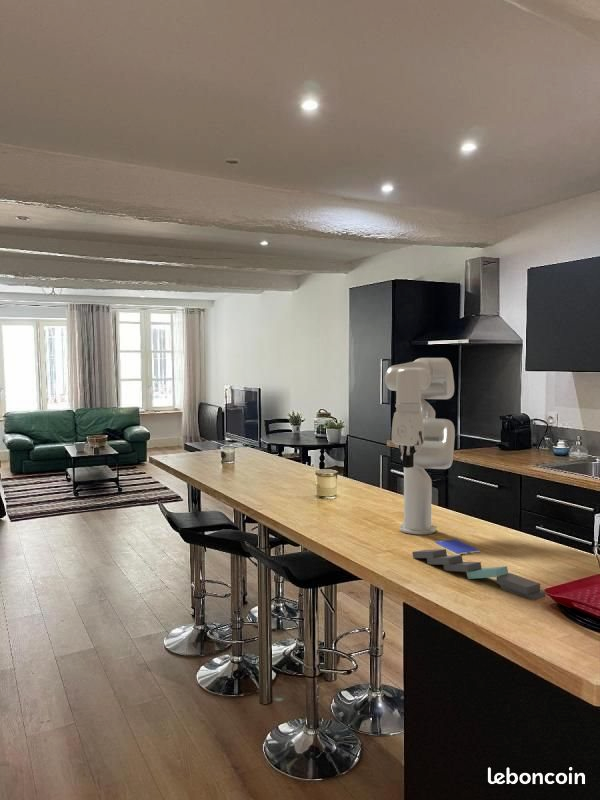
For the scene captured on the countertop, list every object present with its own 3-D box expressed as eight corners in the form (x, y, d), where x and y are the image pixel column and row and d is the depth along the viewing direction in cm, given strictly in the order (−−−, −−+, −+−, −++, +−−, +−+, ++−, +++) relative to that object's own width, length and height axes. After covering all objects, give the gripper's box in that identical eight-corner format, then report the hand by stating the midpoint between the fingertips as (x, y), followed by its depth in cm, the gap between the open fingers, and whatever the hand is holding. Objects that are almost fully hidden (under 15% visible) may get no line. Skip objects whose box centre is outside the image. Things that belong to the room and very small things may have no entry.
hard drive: (435, 541, 196) (457, 552, 185) (456, 538, 199) (480, 549, 187) (435, 546, 196) (457, 557, 185) (456, 543, 199) (480, 554, 188)
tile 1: (412, 552, 182) (432, 551, 174) (425, 549, 184) (445, 549, 176) (413, 558, 182) (433, 557, 174) (426, 555, 184) (446, 555, 176)
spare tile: (466, 572, 164) (495, 569, 157) (478, 568, 167) (506, 566, 160) (468, 578, 164) (497, 577, 157) (479, 575, 167) (508, 573, 160)
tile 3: (443, 564, 171) (466, 564, 163) (456, 561, 173) (480, 562, 165) (444, 570, 171) (467, 571, 163) (457, 567, 173) (481, 568, 165)
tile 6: (500, 584, 157) (533, 595, 149) (512, 580, 160) (545, 591, 152) (500, 591, 157) (533, 602, 149) (512, 587, 160) (545, 598, 152)
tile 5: (496, 576, 158) (526, 587, 149) (509, 572, 160) (540, 583, 152) (496, 583, 158) (526, 594, 149) (509, 579, 160) (540, 590, 152)
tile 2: (426, 557, 176) (447, 557, 168) (440, 555, 179) (461, 555, 170) (427, 564, 176) (449, 564, 168) (441, 561, 178) (462, 561, 170)
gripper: (382, 407, 192) (382, 465, 193) (417, 410, 179) (417, 472, 181) (400, 406, 196) (399, 462, 197) (435, 409, 184) (434, 469, 185)
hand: (408, 467), depth 189 cm, fingers closed
